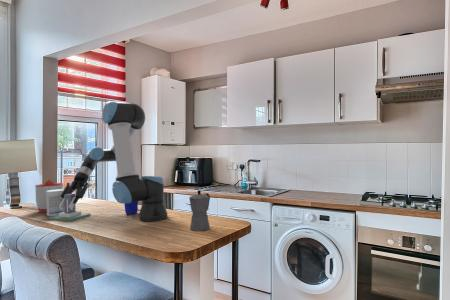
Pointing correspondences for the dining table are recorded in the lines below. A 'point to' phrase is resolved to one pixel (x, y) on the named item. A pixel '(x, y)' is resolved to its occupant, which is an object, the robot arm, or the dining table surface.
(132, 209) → the mug
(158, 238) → the dining table surface
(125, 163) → the robot arm
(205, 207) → the coffeepot
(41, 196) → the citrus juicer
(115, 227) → the dining table surface
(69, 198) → the dark grey block
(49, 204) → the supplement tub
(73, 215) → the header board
